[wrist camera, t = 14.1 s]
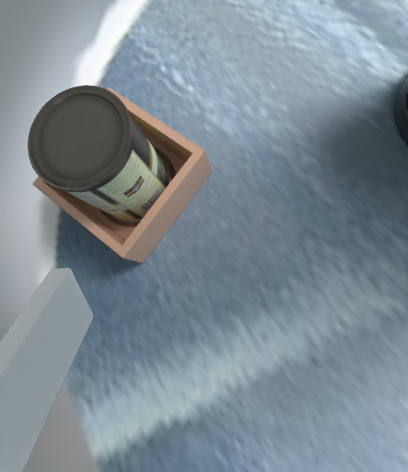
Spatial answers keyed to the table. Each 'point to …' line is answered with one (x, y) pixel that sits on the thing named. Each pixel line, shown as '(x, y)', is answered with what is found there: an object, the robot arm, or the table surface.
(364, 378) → the table surface
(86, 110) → the coffee can
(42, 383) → the robot arm
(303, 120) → the table surface
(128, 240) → the planter box
